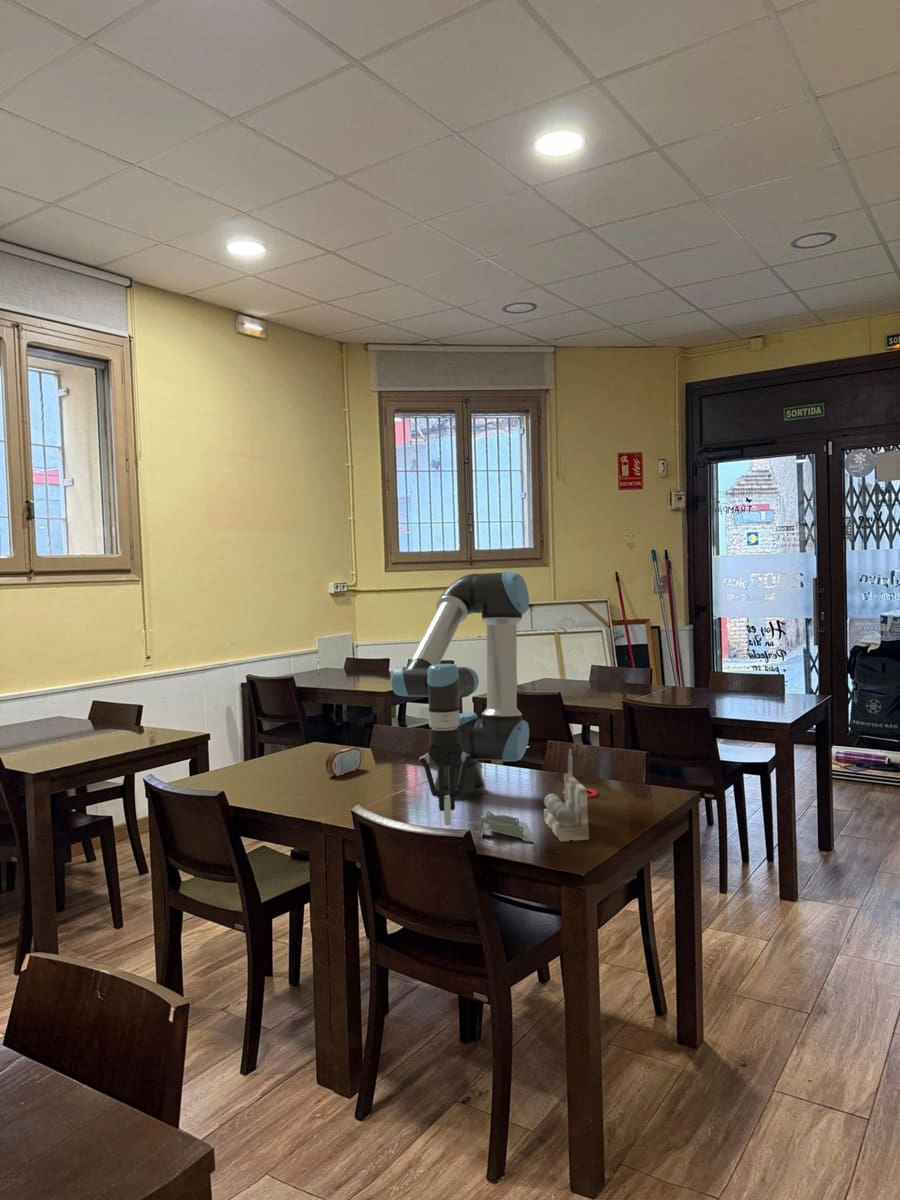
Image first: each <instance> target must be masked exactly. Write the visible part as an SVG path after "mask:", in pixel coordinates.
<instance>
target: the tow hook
mask: <svg viewBox="0 0 900 1200" xmlns="http://www.w3.org/2000/svg"><path fill="white" fill-rule="evenodd" d="M572 751H573V750H572V749H571V748H569V749H568V756H567V773H570V774H571V775H572V776H573V777H574V775H573V755H572ZM585 788H586V789H587V791H589V792H592V794H591V793H589V792H588V793H589V794H587V797H593V796H595V795H597V796H598V791H597V790H596V789H593V788H588V787H585ZM563 794H564V789H563V790H562V791H561V795H563Z"/></svg>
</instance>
